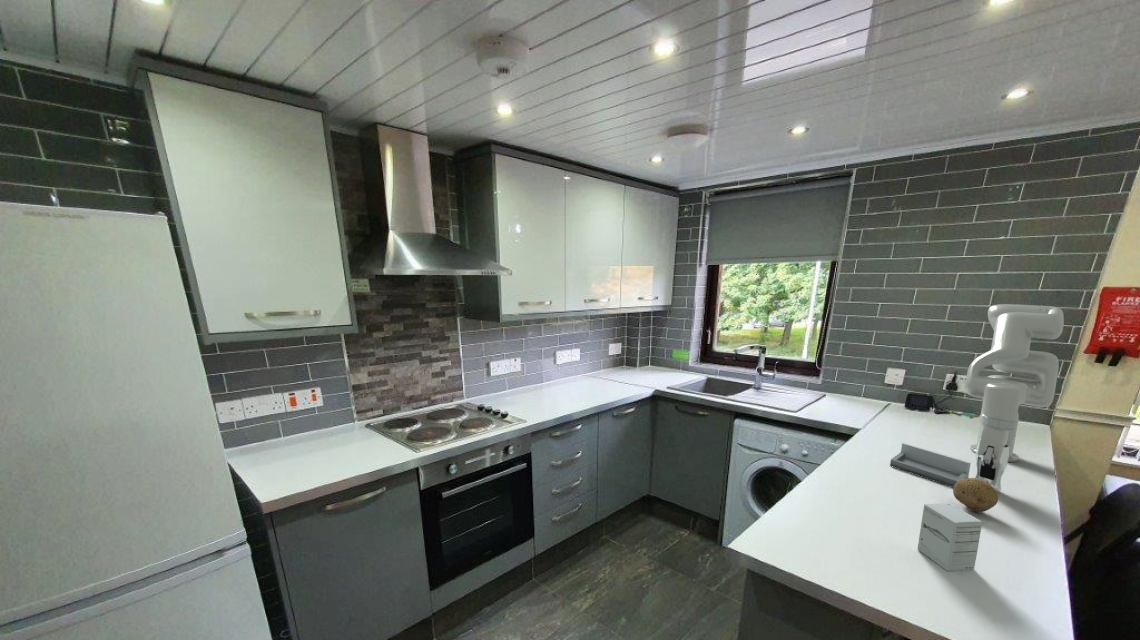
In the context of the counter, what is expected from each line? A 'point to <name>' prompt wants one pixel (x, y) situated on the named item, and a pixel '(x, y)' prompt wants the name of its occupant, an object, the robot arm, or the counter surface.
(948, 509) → the supplement box
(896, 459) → the guarded tray
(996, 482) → the beer glass
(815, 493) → the counter surface
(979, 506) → the natural sponge
